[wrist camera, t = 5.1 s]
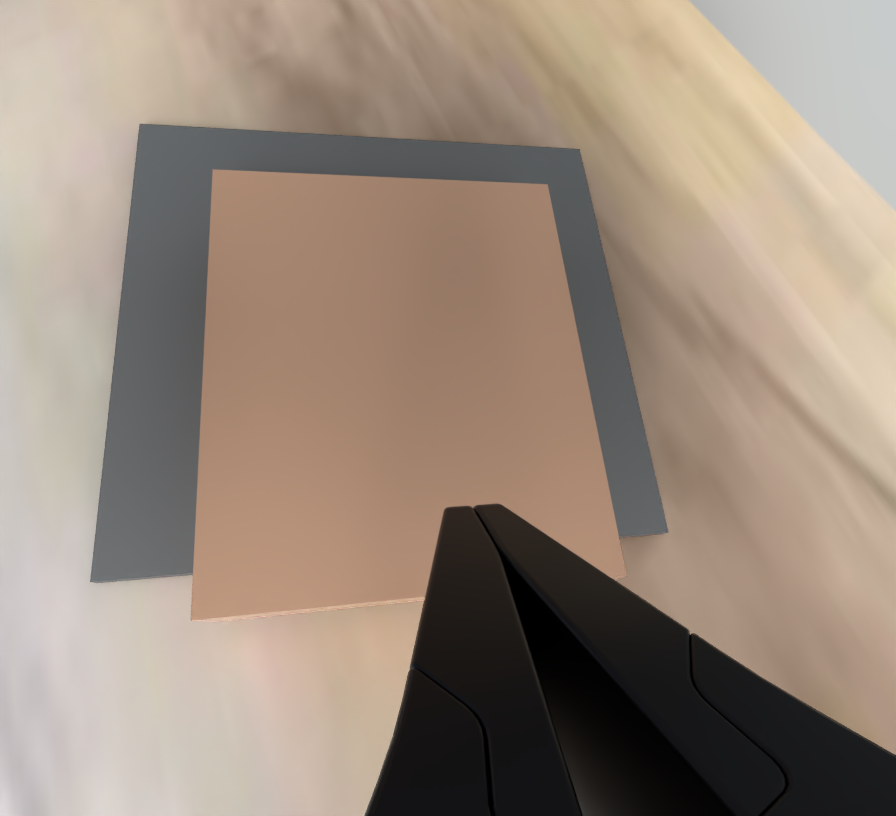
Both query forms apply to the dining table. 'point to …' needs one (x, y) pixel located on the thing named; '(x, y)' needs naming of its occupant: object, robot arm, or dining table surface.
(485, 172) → the charcoal mat
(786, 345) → the dining table surface
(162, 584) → the dining table surface
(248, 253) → the glazed tile
